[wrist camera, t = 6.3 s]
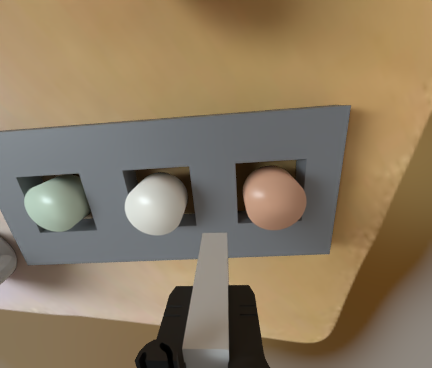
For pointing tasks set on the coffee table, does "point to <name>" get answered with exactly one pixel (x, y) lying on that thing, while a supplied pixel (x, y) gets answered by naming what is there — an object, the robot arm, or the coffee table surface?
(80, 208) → the sage button
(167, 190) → the cream button
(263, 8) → the coffee table surface
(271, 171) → the peach button
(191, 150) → the panel
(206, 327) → the robot arm
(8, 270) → the cup
